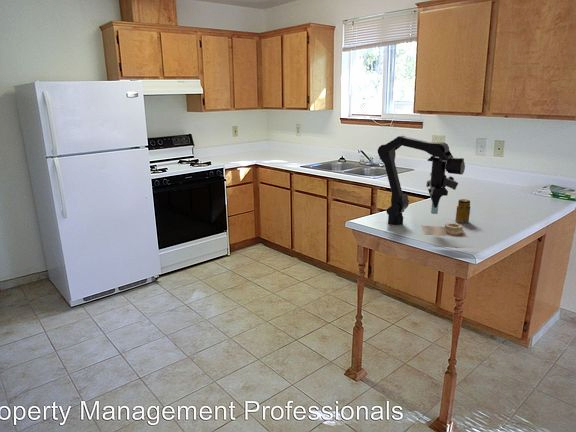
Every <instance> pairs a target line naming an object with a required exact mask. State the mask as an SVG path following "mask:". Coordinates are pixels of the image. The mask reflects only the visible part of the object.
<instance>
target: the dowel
mask: <svg viewBox="0 0 576 432" xmlns="http://www.w3.org/2000/svg"><path fill="white" fill-rule="evenodd" d="M439 203H440V202H439ZM439 203H438V206H437V208H435V207H434V205H433V201H431V210H430V213H431V214H433V215H437V214H438V211H439Z"/></svg>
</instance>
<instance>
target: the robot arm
mask: <svg viewBox="0 0 576 432" xmlns="http://www.w3.org/2000/svg"><path fill="white" fill-rule="evenodd" d="M402 146H403V147H407V148H412V149H416V150H419V151H423V152H426V153H428V155H430V157H429V158H428V159H427V162H431V173H429V174H430V175H429V176H430V180H429V179H428V180H427V181H426V188H427V190H428V194H429V196H430V197H429V198H430V200H431V202H432V201H433V205H434V207H435V208H437V206H438V207H439V204H438V203H440V200H441V198H442V197H443V196H444V197H445V196H446V197H448V194H449V191H448V189H447V188H449V189H452V190H454V191H456V189H457V187H458V185H459V183H458V181H456V180H455V178H454V177H452V176H451V175H450V176H448V177H447V175H446V172H447V173H448V174H453V175H464V173H465V169H466V165H465V158H463V157H459V158H458V157H454V156H453V154H452V153H451V151H450V147H449V145H448V143H446V142H442V141H440V142H439V141H426V140H425V141H424V140H422V139H421V140H420V139H417V138H413V137H408V136H406V135H399V136H397V137H395V138H394V139H392V140H390V141H389V142H387V143H384V144H381V145H380V146H378V149H377V154H378V157H379V159H380V161H381V162H382V163H383V165H384V168H385V172H386V176H387V179H388V183H389V188H390V190H391V198H390V206H389V207H388V208H387V209H386V210H385V212H386V215H387V217H388V218H387V224H388V225H391V226H399V225H400V226H401V225H403V224H404V215H403V213H404V212H405V210H406V209H408V206H409V205H410V204H409V203H410V200H409V195H408V193H404V192H403V190H402V186H401V182H400V177H399V175H398V170H397V165H396V162H395V161H396V151H397V150H399V149H400V148H401V147H402ZM446 187H447V188H446Z"/></svg>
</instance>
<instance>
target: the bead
mask: <svg viewBox="0 0 576 432" xmlns="http://www.w3.org/2000/svg"><path fill="white" fill-rule="evenodd" d="M444 227H445V229H444V231H445V232H446V233H449V234H461V233H462V229H463V228H464V227H463V225H462V224H461V223H457V222H455V223H454V222H448V223H445V224H444Z"/></svg>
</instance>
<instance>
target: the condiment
mask: <svg viewBox="0 0 576 432" xmlns="http://www.w3.org/2000/svg"><path fill="white" fill-rule="evenodd" d="M455 211H456V212H455V223H456V224H460V225H462V224H465V225H466V224H469V223H470V215H471V200H470V199H467V198H466V199H464V198H463V199H459V200H458V203H457V205H456V210H455Z"/></svg>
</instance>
